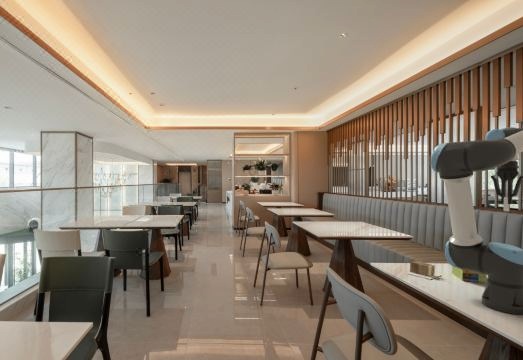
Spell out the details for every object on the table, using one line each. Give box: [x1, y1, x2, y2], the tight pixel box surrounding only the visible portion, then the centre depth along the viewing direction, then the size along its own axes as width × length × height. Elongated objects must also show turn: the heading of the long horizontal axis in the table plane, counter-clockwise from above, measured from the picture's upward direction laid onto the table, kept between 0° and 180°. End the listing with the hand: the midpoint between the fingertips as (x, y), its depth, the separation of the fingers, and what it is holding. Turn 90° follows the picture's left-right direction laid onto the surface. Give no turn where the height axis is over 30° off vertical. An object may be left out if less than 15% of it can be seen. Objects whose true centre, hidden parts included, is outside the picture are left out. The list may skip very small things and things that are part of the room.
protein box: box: [451, 265, 488, 284], centre depth 163 cm, size 10×15×16 cm
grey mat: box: [407, 272, 442, 280], centre depth 165 cm, size 12×11×1 cm
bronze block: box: [409, 260, 436, 277], centre depth 166 cm, size 5×5×10 cm
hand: (506, 210), depth 153 cm, fingers closed
